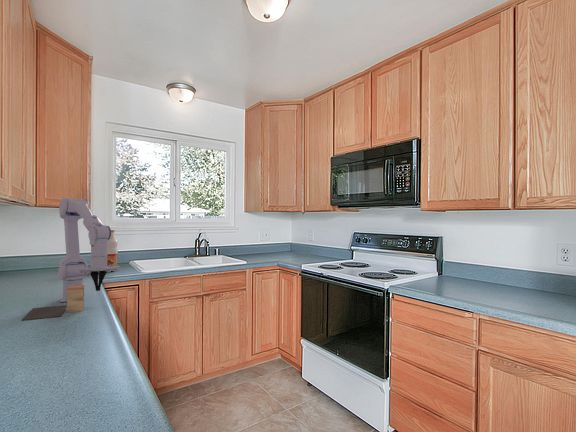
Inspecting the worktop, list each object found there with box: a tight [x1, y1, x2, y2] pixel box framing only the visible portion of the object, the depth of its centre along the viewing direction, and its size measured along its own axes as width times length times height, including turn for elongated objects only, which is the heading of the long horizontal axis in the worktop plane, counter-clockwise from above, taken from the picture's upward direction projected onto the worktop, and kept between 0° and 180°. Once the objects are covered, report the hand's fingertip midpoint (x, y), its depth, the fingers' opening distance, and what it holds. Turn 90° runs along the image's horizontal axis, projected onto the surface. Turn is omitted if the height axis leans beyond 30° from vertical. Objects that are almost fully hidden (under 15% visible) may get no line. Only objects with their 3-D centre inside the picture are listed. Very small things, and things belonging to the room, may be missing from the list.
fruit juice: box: [107, 229, 119, 266], centre depth 213 cm, size 9×9×28 cm
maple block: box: [66, 284, 85, 313], centre depth 121 cm, size 5×5×9 cm
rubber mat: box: [21, 304, 67, 322], centre depth 117 cm, size 16×11×1 cm
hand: (98, 290), depth 125 cm, fingers closed
